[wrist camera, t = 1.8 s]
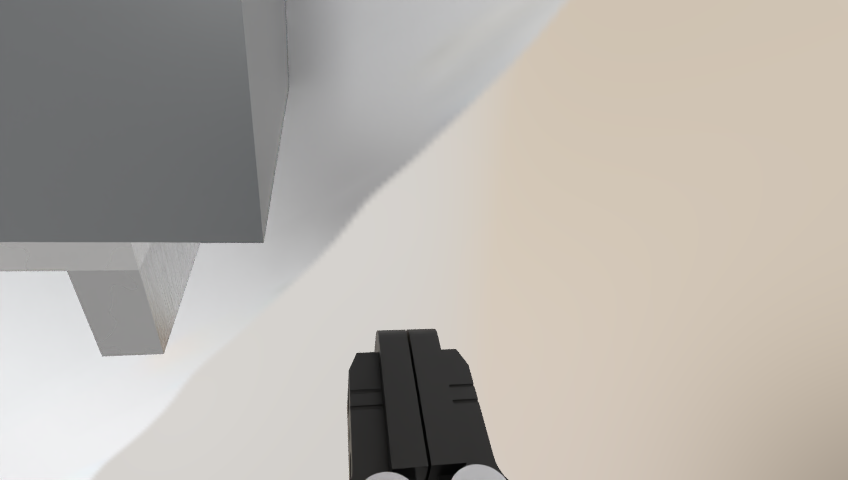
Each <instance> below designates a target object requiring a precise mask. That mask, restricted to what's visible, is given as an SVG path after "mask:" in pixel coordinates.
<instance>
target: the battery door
mask: <svg viewBox="0 0 848 480" xmlns="http://www.w3.org/2000/svg"><path fill="white" fill-rule="evenodd" d="M199 245H200V243H164V242H0V271H67V272H68V274H69V277H70V279H71V281H72V284H73V286H74V289H75V291H76V294H77V296H78V298H79V301H80V303H81V306H82V308H83V311H84V313H85V315H86V318H87V320H88V323H89V325H90V328H91V330H92V332H93V335H94V337H95V340H96V342H97V345H98V347H99V349H100V352H101V354H102V356H122V355H147V354H164V352H165V349H166V345H167V342H168V339H169V336H170V333H171V330H172V327H173V324H174V321H175V318H176V315H177V312H178V309H179V306H180V303H181V300H182V297H183V294H184V291H185V288H186V285H187V282H188V278H189V275H190V272H191V269H192V266H193V263H194V260H195V257H196V254H197V251H198V248H199Z"/></svg>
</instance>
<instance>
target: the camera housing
mask: <svg viewBox="0 0 848 480" xmlns="http://www.w3.org/2000/svg"><path fill="white" fill-rule="evenodd" d="M288 90H289V76H288V52H287V28H286V4H285V0H0V242H164V243H264V236H265V230H266V224H267V218H268V212H269V206H270V200H271V194H272V188H273V182H274V175H275V169H276V163H277V157H278V151H279V145H280V139H281V133H282V127H283V121H284V114H285V108H286V102H287V96H288Z"/></svg>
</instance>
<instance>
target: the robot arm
mask: <svg viewBox="0 0 848 480" xmlns="http://www.w3.org/2000/svg"><path fill="white" fill-rule="evenodd" d="M347 414H348V415H347V418H348V451H349V480H508V479H507V478H506V477H505V476H504V475H503V474H502V473H501V471H500V470H499V468H498V466H497V464H496V462H495V459H494V456H493V452H492V449H491V445H490V441H489V438H488V435H487V431H486V427H485V423H484V420H483V416H482V412H481V409H480V405H479V403H478V398H477V395H476V391H475V388H474V386H473V380H472V376H471V373H470V369H469V365H468V364H467V363H466V361H465V360H464V359H463V358H462V356H461V355H460V354H459V352H458V351H457V350H456V349H448V350H441V348H440V343H439V339H438V335H437V331H436V330H435V329H417V330H416V329H414V330H407V331H405V330H383V331H377V332H376V341H375V352H370V353H357V354H356V356H355V358H354V360H353V363H352V365H351V367H350V369H349V379H348V401H347Z"/></svg>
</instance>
